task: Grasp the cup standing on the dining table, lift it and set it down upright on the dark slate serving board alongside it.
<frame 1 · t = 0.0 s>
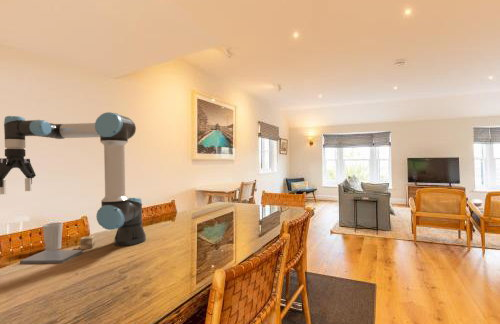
hand: (15, 192, 128), 28 cm above the table, fingers open, 13 cm apart
slate board: (53, 257, 117), on the table
cup: (53, 249, 129), on the table
oak cube: (87, 247, 131), on the table
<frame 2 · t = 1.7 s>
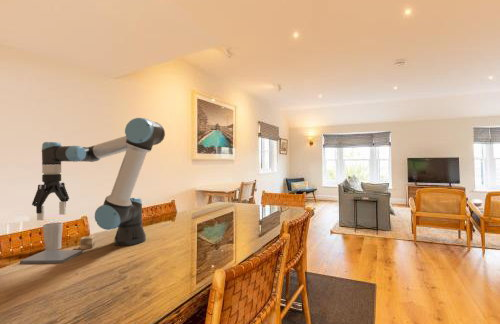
hand: (52, 217, 130), 15 cm above the table, fingers open, 13 cm apart
nothing on the table moved.
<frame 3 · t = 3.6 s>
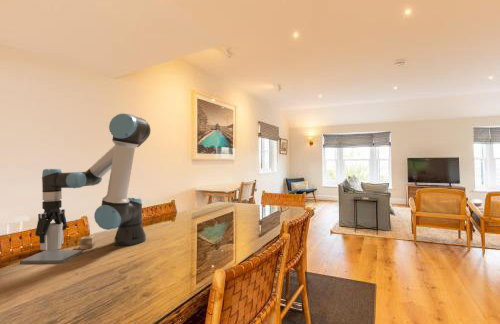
hand: (52, 246, 129), 1 cm above the table, fingers open, 10 cm apart
nothing on the table moved.
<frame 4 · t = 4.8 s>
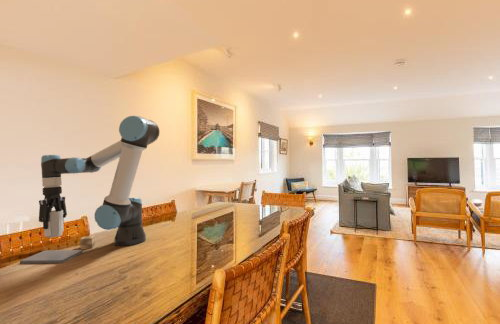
hand: (54, 233, 129), 8 cm above the table, fingers closed on cup, 7 cm apart
cup: (54, 236, 129), point 6 cm above the table, touching gripper
everything else where it was.
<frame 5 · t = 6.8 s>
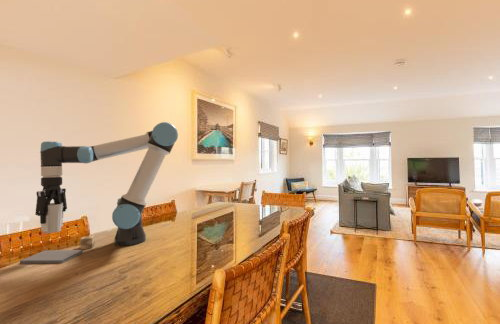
hand: (52, 228, 117), 13 cm above the table, fingers closed on cup, 7 cm apart
cup: (52, 231, 117), point 11 cm above the table, touching gripper
everything else where it was.
when the fingers open (4 cm above the table, at t = 9.1 s): cup drops 1 cm, resting on slate board.
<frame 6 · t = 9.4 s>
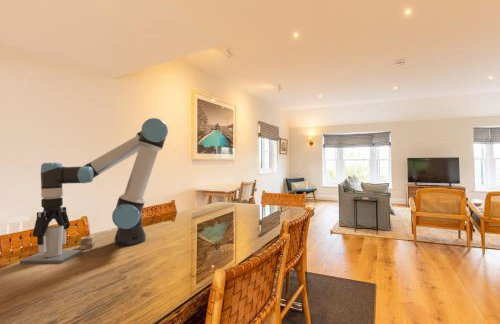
hand: (53, 247, 117), 4 cm above the table, fingers open, 11 cm apart
cup: (53, 255, 117), point 1 cm above the table, touching slate board
everything else where it was.
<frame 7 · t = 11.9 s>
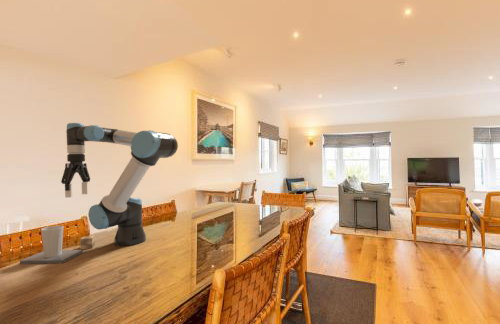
hand: (77, 195, 134), 25 cm above the table, fingers open, 13 cm apart
nothing on the table moved.
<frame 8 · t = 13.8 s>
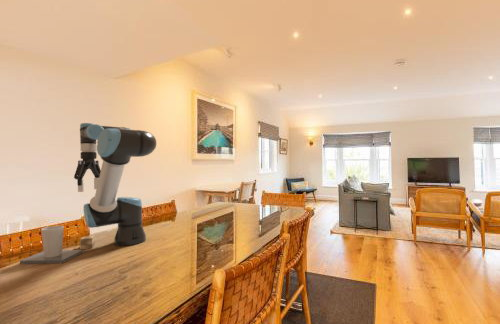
hand: (89, 190, 145), 27 cm above the table, fingers open, 13 cm apart
nothing on the table moved.
at the end: cup inside the target area on the slate board (0.0 cm from its centre), point 1.0 cm above the slate board's base; cup tilted 0°; the gripper is holding nothing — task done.
